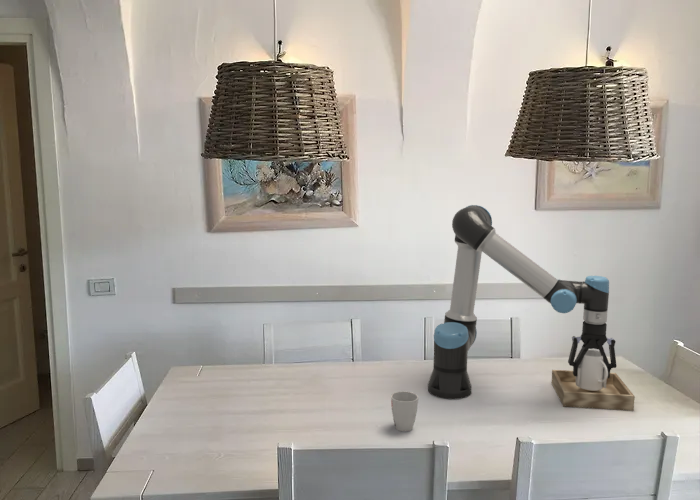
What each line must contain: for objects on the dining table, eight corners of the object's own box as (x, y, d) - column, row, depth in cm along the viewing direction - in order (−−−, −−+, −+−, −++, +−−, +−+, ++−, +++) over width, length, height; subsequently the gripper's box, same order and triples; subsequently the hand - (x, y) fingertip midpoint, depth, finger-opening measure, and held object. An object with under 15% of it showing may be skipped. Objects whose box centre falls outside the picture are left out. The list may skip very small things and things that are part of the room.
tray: (563, 406, 200) (564, 392, 199) (551, 382, 222) (552, 369, 221) (633, 410, 197) (634, 396, 196) (614, 386, 218) (615, 372, 218)
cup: (400, 419, 190) (401, 389, 188) (422, 427, 185) (423, 395, 183) (385, 428, 184) (385, 397, 182) (407, 436, 179) (408, 404, 177)
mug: (614, 393, 204) (617, 358, 203) (593, 395, 202) (595, 361, 200) (591, 380, 216) (594, 348, 214) (571, 383, 213) (573, 350, 211)
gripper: (564, 323, 203) (561, 388, 207) (630, 326, 200) (625, 391, 204) (560, 317, 211) (557, 380, 214) (623, 320, 208) (619, 383, 211)
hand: (590, 385), depth 209 cm, fingers closed on mug, 8 cm apart
